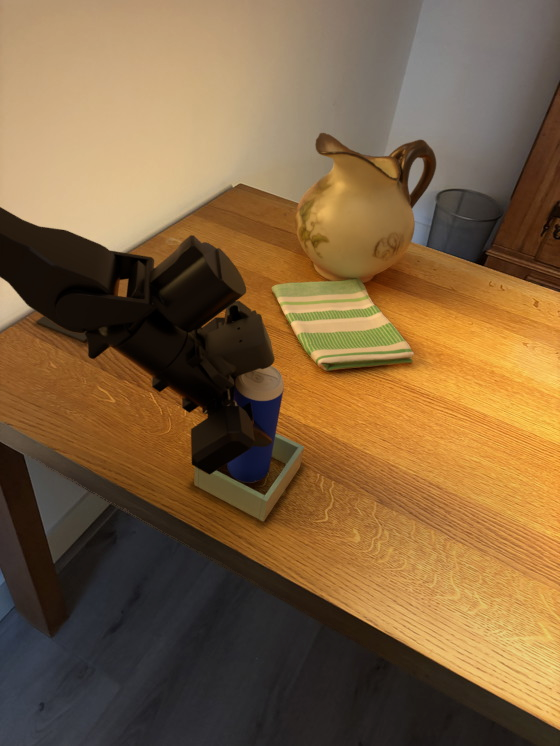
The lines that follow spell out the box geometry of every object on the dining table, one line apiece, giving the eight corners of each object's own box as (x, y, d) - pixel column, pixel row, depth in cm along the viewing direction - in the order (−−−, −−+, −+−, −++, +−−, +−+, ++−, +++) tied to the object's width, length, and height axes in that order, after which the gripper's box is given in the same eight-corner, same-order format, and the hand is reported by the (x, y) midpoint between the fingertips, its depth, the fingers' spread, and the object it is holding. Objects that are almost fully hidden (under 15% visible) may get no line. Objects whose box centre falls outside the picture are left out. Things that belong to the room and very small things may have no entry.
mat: (84, 342, 83) (83, 340, 83) (36, 323, 85) (36, 321, 85) (120, 313, 89) (120, 311, 89) (75, 296, 91) (75, 294, 91)
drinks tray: (263, 522, 63) (266, 501, 60) (194, 485, 65) (194, 463, 63) (300, 467, 69) (304, 446, 67) (235, 435, 72) (237, 414, 70)
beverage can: (275, 463, 68) (292, 372, 58) (257, 492, 64) (272, 400, 54) (239, 446, 69) (250, 355, 59) (218, 474, 65) (226, 381, 56)
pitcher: (271, 276, 104) (287, 142, 87) (313, 230, 121) (333, 110, 104) (383, 313, 99) (423, 177, 82) (410, 259, 116) (448, 137, 100)
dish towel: (359, 286, 105) (362, 274, 103) (415, 364, 88) (420, 351, 87) (270, 292, 99) (272, 279, 98) (313, 376, 83) (315, 362, 81)
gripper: (238, 368, 43) (343, 454, 52) (222, 251, 57) (307, 336, 66) (139, 437, 47) (254, 507, 56) (146, 311, 60) (237, 384, 70)
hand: (265, 425), depth 62 cm, fingers closed on beverage can, 5 cm apart
